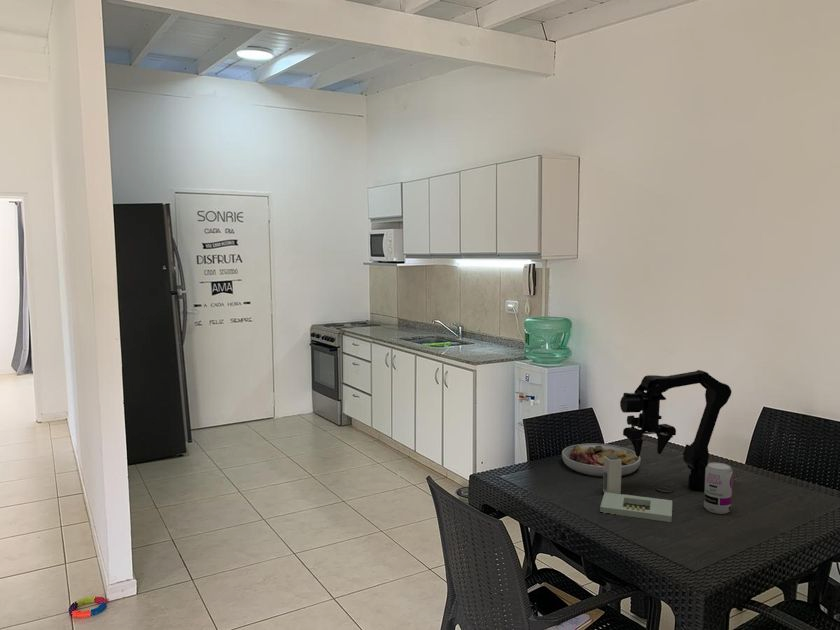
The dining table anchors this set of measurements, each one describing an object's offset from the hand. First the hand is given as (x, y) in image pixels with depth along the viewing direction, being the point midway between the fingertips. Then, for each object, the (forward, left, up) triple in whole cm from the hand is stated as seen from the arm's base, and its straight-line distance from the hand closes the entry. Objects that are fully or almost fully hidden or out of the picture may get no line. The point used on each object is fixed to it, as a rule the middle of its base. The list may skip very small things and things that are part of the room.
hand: (648, 455), depth 240 cm
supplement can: (-22, +10, -13) cm, 28 cm away
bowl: (+19, -22, -14) cm, 32 cm away
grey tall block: (+12, +7, -13) cm, 19 cm away
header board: (+3, +19, -13) cm, 23 cm away
